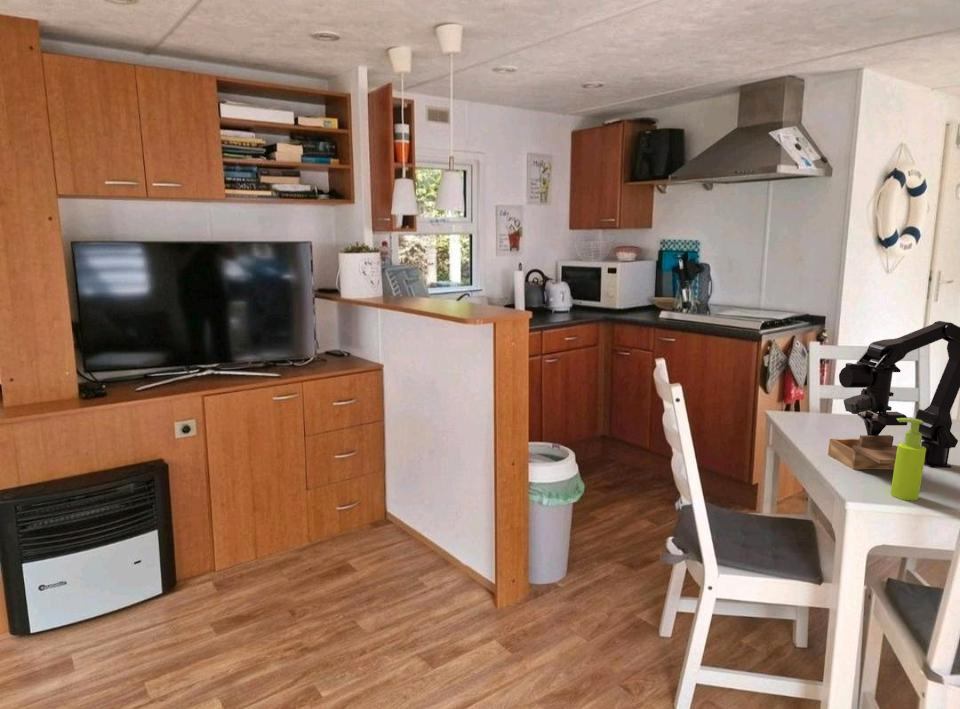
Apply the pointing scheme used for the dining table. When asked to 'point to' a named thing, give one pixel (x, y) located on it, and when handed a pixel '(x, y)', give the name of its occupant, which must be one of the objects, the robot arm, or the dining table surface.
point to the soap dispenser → (909, 463)
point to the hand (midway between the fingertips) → (871, 440)
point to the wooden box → (853, 455)
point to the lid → (877, 448)
